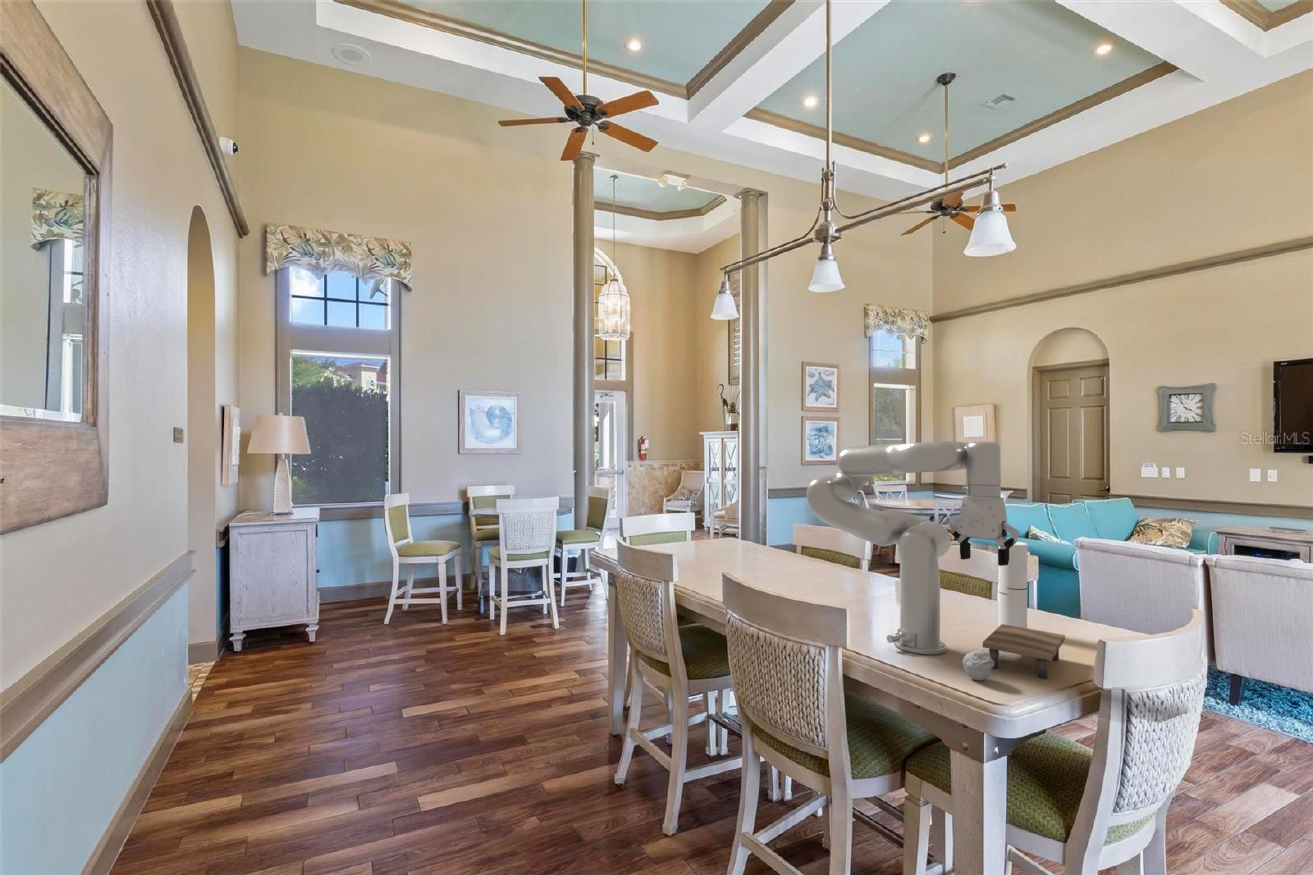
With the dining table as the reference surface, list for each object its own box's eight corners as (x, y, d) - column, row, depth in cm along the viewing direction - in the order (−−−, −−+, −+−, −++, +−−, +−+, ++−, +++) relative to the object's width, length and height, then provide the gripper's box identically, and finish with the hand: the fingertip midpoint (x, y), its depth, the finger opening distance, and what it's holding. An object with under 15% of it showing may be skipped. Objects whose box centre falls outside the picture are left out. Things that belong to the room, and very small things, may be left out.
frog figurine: (977, 687, 139) (978, 655, 139) (955, 675, 145) (956, 645, 145) (1001, 684, 140) (1001, 653, 140) (978, 673, 147) (978, 643, 147)
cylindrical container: (1025, 636, 175) (1025, 545, 175) (996, 631, 180) (996, 543, 180) (1028, 630, 181) (1029, 542, 181) (1000, 625, 185) (1001, 540, 185)
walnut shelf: (1051, 682, 142) (1051, 655, 142) (982, 667, 151) (982, 642, 151) (1064, 659, 157) (1064, 635, 157) (1001, 647, 166) (1001, 624, 166)
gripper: (942, 490, 161) (942, 558, 161) (1009, 494, 146) (1010, 569, 146) (960, 489, 165) (960, 555, 165) (1027, 493, 150) (1028, 566, 150)
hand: (983, 561), depth 155 cm, fingers open, 9 cm apart
